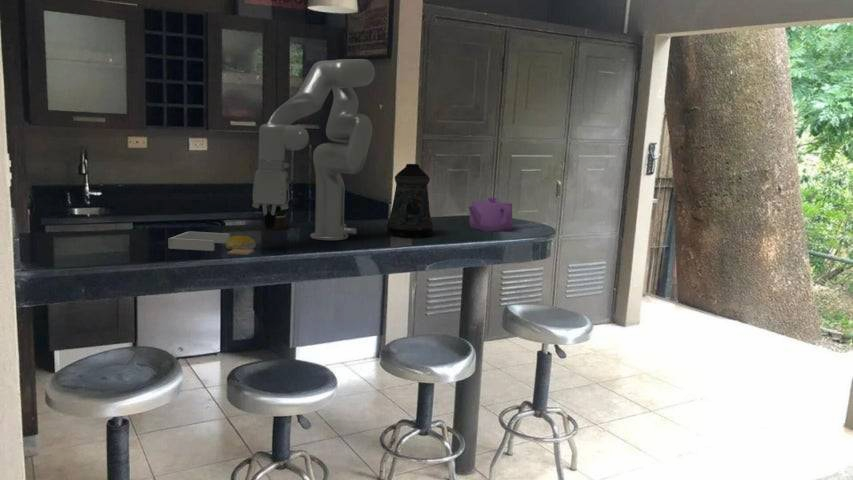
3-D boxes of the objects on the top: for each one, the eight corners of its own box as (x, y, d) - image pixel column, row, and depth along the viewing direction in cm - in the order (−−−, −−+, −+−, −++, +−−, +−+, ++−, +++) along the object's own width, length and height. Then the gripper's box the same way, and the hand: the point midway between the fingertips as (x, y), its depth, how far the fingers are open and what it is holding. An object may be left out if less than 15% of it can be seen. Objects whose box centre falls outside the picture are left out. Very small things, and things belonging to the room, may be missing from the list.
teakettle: (511, 233, 263) (512, 200, 261) (466, 230, 266) (467, 198, 264) (513, 227, 280) (515, 196, 278) (470, 224, 282) (472, 193, 280)
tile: (254, 251, 207) (254, 249, 207) (247, 255, 201) (247, 253, 201) (234, 250, 208) (234, 248, 208) (227, 254, 202) (227, 252, 202)
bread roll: (239, 245, 218) (239, 232, 217) (260, 248, 213) (260, 235, 213) (218, 248, 211) (218, 235, 210) (239, 252, 206) (239, 238, 206)
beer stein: (395, 239, 239) (397, 165, 235) (378, 230, 257) (379, 162, 253) (439, 237, 245) (442, 166, 241) (420, 229, 263) (422, 162, 259)
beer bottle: (290, 228, 253) (290, 162, 249) (274, 230, 246) (275, 162, 242) (274, 226, 257) (274, 160, 253) (258, 228, 250) (258, 161, 246)
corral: (230, 243, 219) (229, 233, 219) (213, 250, 206) (213, 240, 205) (188, 240, 220) (187, 231, 220) (168, 248, 207) (168, 238, 206)
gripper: (299, 167, 210) (297, 228, 213) (250, 164, 211) (249, 225, 214) (292, 168, 203) (291, 231, 205) (242, 165, 204) (241, 227, 206)
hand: (269, 227), depth 210 cm, fingers closed
